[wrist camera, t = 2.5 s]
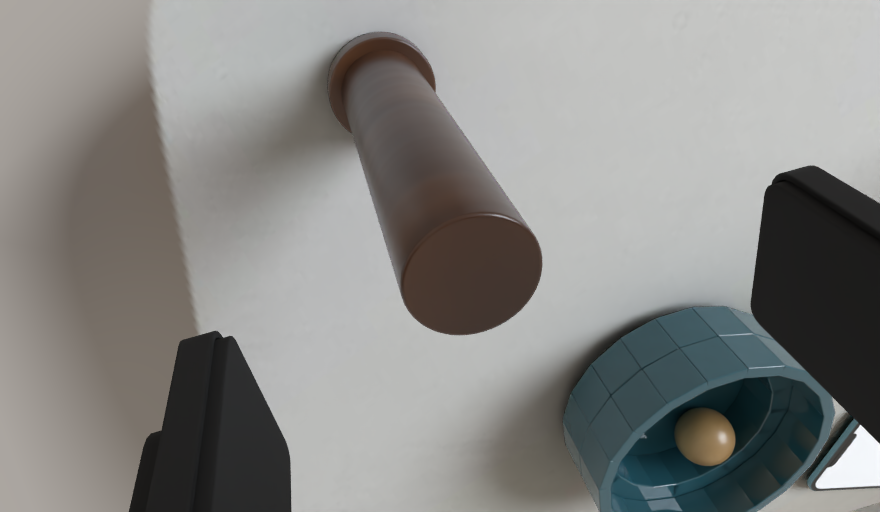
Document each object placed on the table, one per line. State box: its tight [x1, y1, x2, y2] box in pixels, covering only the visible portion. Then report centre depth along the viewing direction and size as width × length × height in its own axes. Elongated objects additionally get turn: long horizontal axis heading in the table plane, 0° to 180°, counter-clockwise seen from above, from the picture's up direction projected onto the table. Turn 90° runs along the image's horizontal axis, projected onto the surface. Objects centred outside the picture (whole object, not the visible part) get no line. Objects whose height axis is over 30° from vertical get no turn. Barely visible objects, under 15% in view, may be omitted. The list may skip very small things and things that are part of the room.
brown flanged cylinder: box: [327, 32, 542, 335], centre depth 17 cm, size 4×4×12 cm
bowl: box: [563, 306, 835, 512], centre depth 32 cm, size 12×12×5 cm
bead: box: [674, 407, 735, 466], centre depth 34 cm, size 3×3×3 cm
